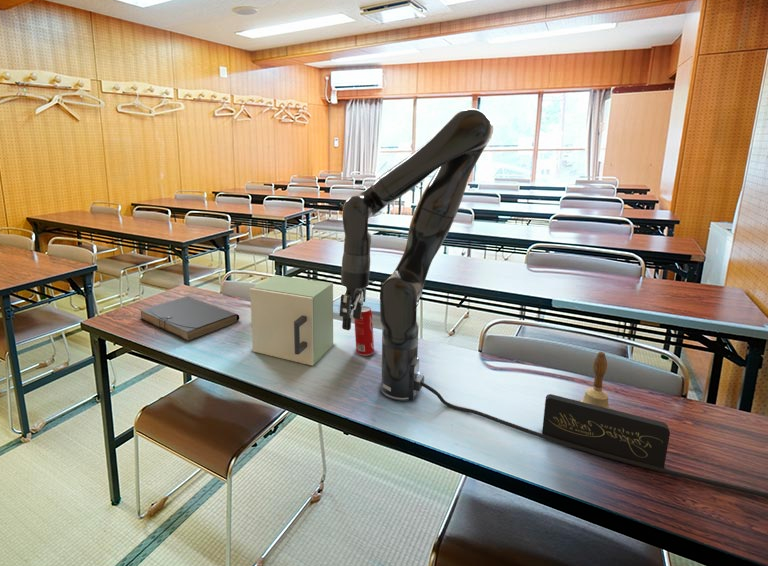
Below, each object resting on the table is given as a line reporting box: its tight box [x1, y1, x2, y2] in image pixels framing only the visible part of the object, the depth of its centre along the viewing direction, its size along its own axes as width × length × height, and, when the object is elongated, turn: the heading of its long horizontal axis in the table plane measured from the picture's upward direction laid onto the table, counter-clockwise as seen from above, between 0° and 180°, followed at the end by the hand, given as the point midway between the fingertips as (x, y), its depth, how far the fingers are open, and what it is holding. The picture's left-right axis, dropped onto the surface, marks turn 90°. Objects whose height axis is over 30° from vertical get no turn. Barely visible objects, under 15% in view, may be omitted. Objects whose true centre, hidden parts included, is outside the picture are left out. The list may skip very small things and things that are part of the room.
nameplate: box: [541, 393, 671, 473], centre depth 91 cm, size 21×2×10 cm, turn 56°
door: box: [249, 287, 315, 366], centre depth 132 cm, size 7×22×22 cm, turn 61°
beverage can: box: [353, 305, 375, 357], centre depth 138 cm, size 6×6×15 cm
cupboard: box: [251, 274, 334, 365], centre depth 141 cm, size 15×22×22 cm
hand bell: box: [579, 351, 611, 409], centre depth 103 cm, size 8×8×16 cm
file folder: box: [139, 296, 240, 342], centre depth 169 cm, size 33×4×24 cm
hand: (351, 323), depth 119 cm, fingers open, 8 cm apart
